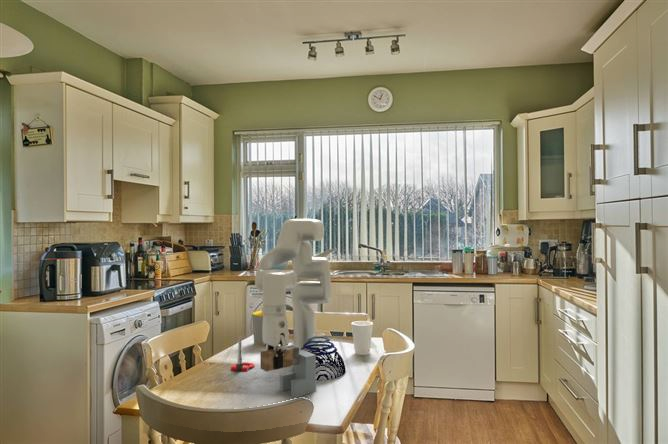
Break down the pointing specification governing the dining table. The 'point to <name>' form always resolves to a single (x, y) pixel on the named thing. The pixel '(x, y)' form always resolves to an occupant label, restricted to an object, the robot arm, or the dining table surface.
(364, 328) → the foam cup
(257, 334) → the soap bottle
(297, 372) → the grey stepped block
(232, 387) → the dining table surface
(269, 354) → the brown wooden block
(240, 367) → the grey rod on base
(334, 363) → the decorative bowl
